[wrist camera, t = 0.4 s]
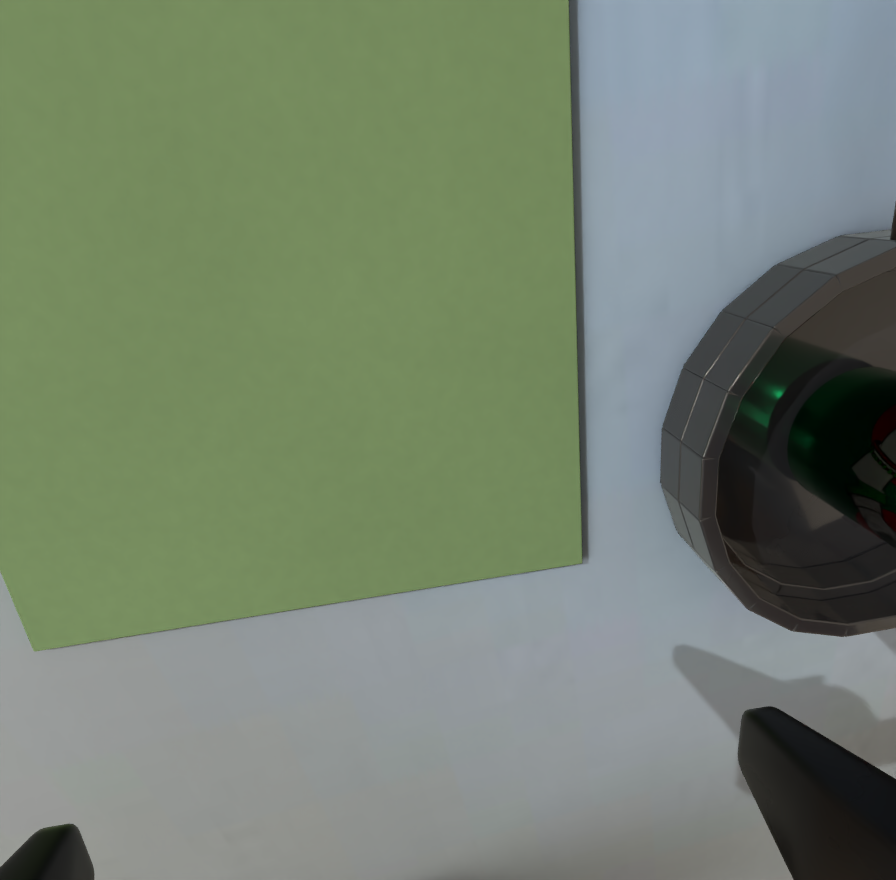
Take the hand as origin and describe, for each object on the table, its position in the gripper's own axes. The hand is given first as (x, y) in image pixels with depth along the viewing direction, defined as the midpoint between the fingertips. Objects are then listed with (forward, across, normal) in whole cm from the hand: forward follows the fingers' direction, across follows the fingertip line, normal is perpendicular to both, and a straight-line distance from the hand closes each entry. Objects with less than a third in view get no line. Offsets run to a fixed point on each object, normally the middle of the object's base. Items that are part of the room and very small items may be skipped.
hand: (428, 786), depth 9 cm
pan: (+14, -17, +2) cm, 22 cm away
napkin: (+14, +3, -4) cm, 15 cm away
